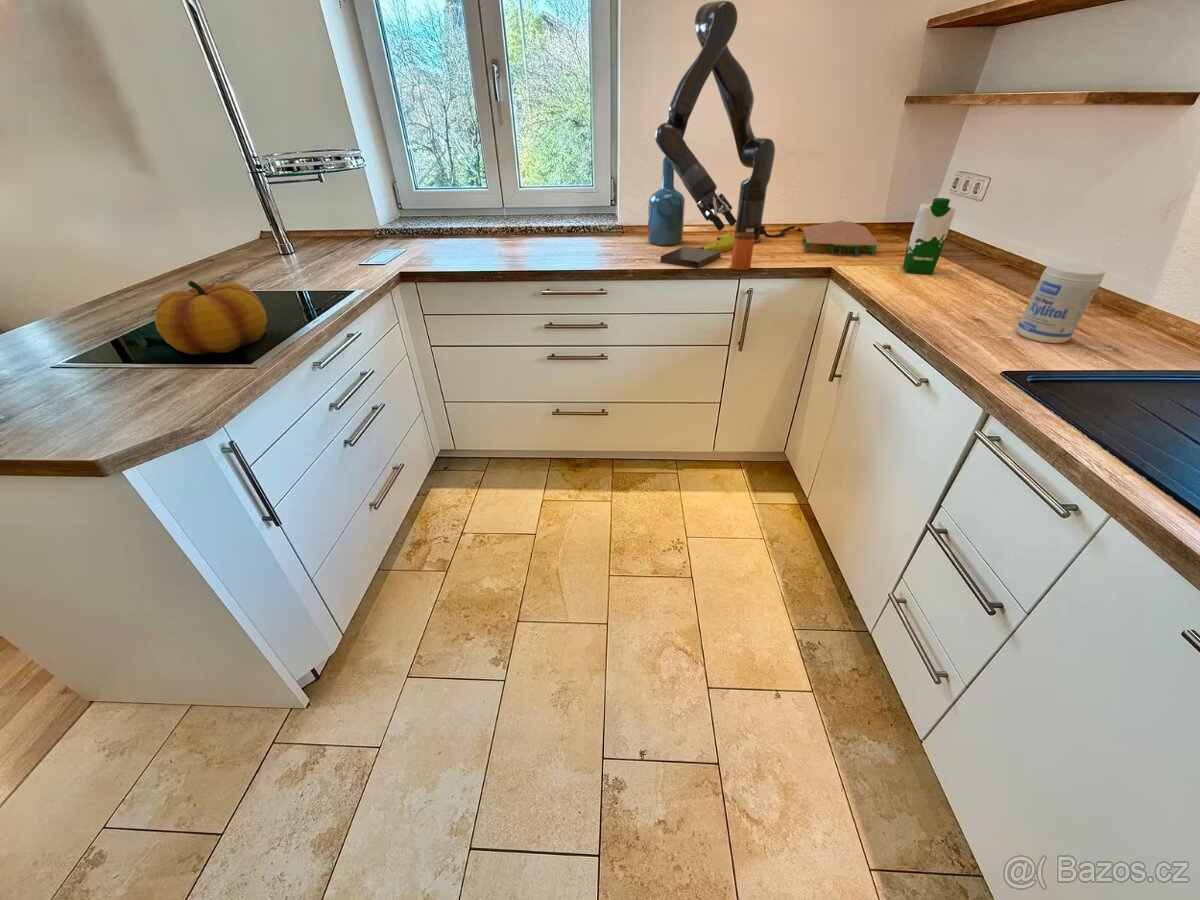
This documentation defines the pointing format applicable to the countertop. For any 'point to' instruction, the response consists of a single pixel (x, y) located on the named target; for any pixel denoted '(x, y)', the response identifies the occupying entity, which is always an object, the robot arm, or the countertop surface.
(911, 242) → the milk carton
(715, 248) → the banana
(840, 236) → the house
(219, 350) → the decorative pumpkin
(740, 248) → the tin
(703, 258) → the board
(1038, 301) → the supplement tub
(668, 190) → the wine bottle
